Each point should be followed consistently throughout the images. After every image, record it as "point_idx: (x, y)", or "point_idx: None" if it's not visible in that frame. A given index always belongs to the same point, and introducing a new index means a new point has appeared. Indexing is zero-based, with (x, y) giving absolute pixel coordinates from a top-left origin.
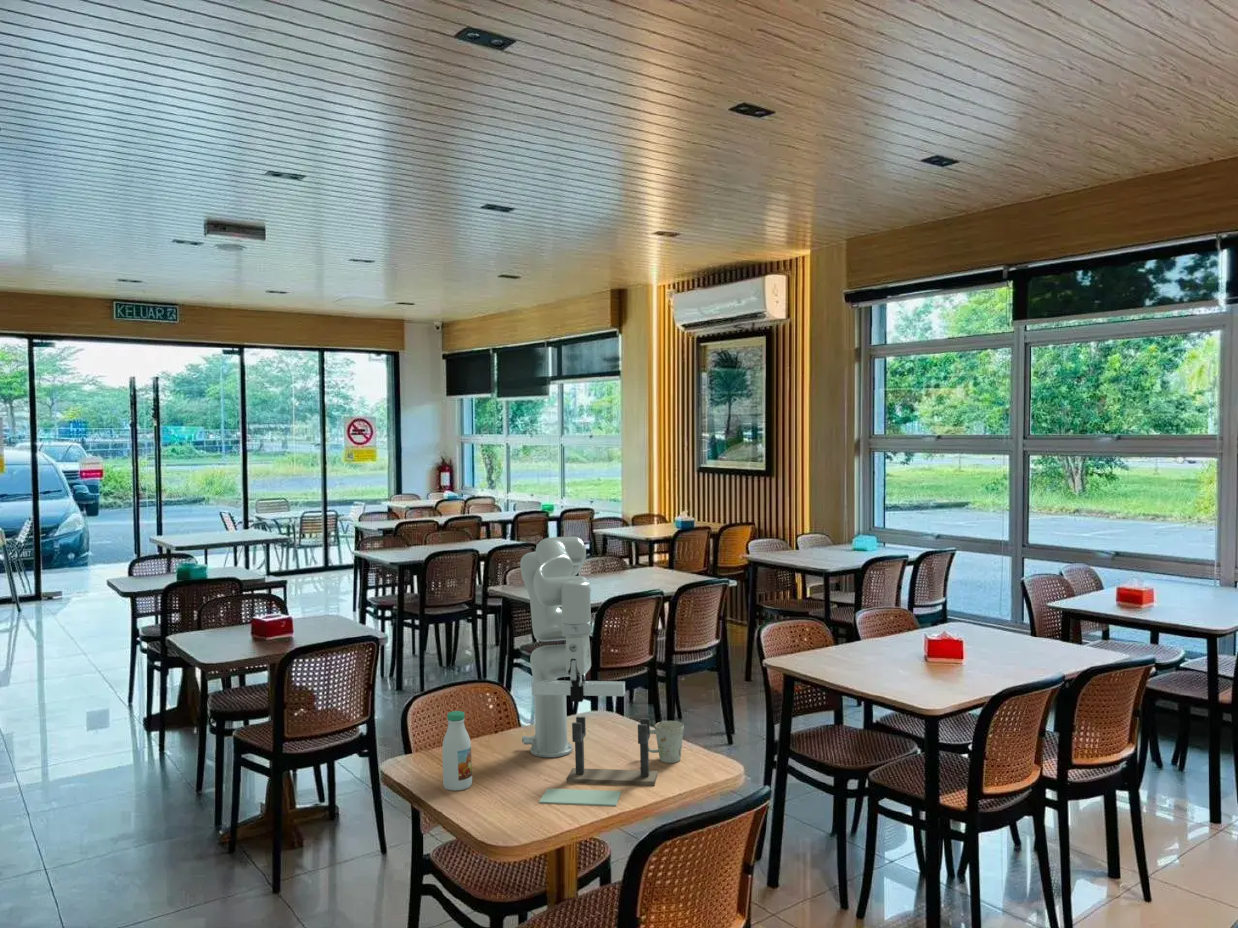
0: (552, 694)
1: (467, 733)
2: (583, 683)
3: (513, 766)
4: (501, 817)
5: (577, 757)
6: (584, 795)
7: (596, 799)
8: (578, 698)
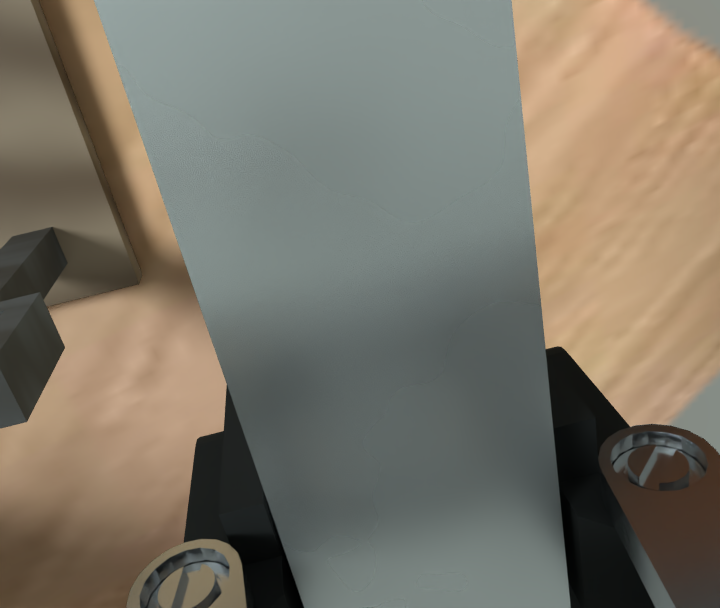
0: None
1: None
2: (512, 463)
3: (67, 564)
4: (584, 341)
5: (37, 290)
6: None
7: None
8: (559, 349)
